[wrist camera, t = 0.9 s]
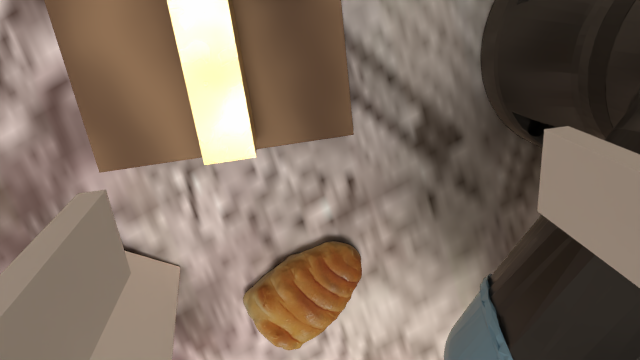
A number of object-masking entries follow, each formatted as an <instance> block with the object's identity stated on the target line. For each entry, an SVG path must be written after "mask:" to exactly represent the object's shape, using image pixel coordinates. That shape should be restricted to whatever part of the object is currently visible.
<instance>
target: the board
mask: <svg viewBox="0 0 640 360" xmlns="http://www.w3.org/2000/svg"><path fill="white" fill-rule="evenodd" d="M44 1H45V4H46V7H47V10H48V14H49V17H50V20H51V23H52V26H53V29H54V32H55V35H56V38H57V42H58V45H59V48H60V51H61V54H62V57H63V60H64V63H65V67H66V70H67V73H68V76H69V79H70V82H71V85H72V88H73V91H74V95H75V98H76V101H77V104H78V107H79V110H80V113H81V116H82V120H83V123H84V126H85V129H86V132H87V135H88V138H89V141H90V144H91V148H92V151H93V154H94V157H95V160H96V163H97V166H98V169H99V172H107V171H113V170H120V169H127V168H133V167H140V166H147V165H153V164H160V163H167V162H174V161H180V160H187V159H194V158H200V157H202V153H201V148H200V144H199V139H198V135H197V131H196V126H195V122H194V117H193V113H192V109H191V104H190V100H189V95H188V91H187V87H186V82H185V78H184V73H183V69H182V65H181V60H180V56H179V51H178V47H177V43H176V38H175V34H174V29H173V25H172V21H171V16H170V12H169V7H168V3H167V0H44ZM232 2H233V7H234V13H235V19H236V24H237V30H238V36H239V41H240V47H241V52H242V58H243V64H244V69H245V75H246V81H247V86H248V92H249V98H250V103H251V109H252V114H253V120H254V126H255V131H256V137H257V145H256V149H261V148H267V147H274V146H281V145H288V144H294V143H301V142H308V141H314V140H321V139H328V138H334V137H341V136H348V135H354V133H353V123H352V112H351V102H350V91H349V81H348V70H347V59H346V49H345V38H344V28H343V17H342V7H341V0H232Z"/></svg>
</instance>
